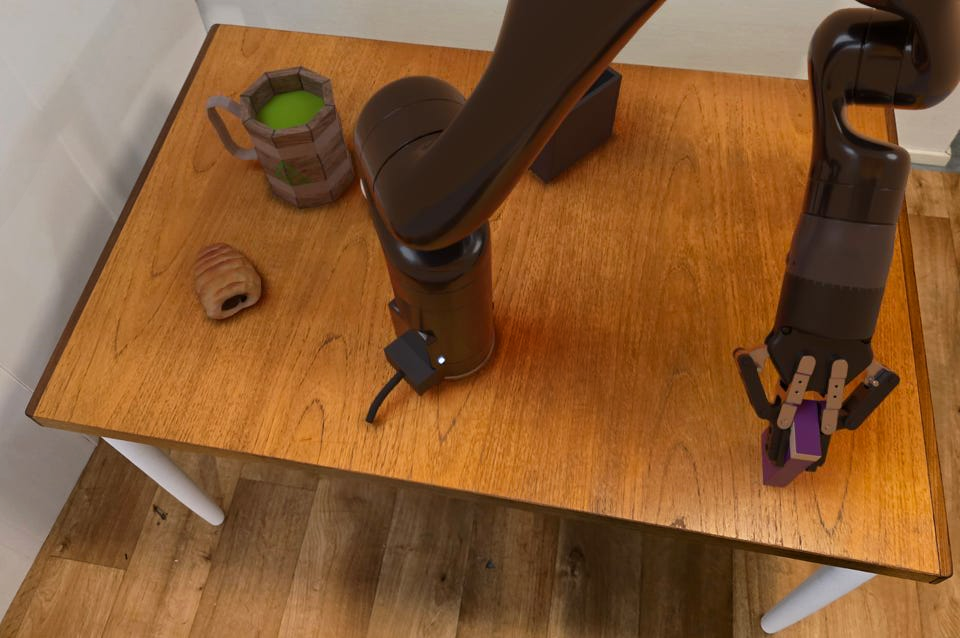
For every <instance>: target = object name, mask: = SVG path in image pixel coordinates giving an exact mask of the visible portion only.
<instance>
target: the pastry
mask: <svg viewBox="0 0 960 638" xmlns="http://www.w3.org/2000/svg"><path fill="white" fill-rule="evenodd" d="M192 268H193V277H194V282H193V286H194V291H195V292H196V293H197V295H198V296H197V297H198V300H199V302H200V304H201V305H202V307H203V308H204V309H205V312H206V316H207V317H209V319H212V320H224V319H226V318H228V317H231V316H234V315H235V314H236V313H238V312H239V311H241V310H242V309H244V308H248V307H250V306H252V305H254V304H256V303H257V302H258V301H259V299H260V297H261V295H262V279H261V277H260V275H259V274H258V272H257V271H256V269H255V268H254V266H253V264H252V262H251V261H249V259H247V258H246V256H244V255H243V254H242V253H241V252H240V251H238V250H236V249H234V248H233V247H232V245H230V244H228V243H226V242H222V241H221V242H214V243H211V244H208V245H201V246H200V248H199V250H198V251H197V253H196V254H195V258H194V261H193V265H192Z"/></svg>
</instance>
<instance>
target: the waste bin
mask: <svg viewBox="0 0 960 638" xmlns="http://www.w3.org/2000/svg"><path fill="white" fill-rule="evenodd" d="M622 79H623V74H621V73H619V72H618V71H617V70H615V68H613V67H611V66H610V65H609V66H608V67H607V68H606V69H605V70H604V71H603V73H602V74H601V75H600V76H599V77H598V79H597V80H596V81H595V82H594V83H593V85H592V86H591V87H590V88H589V89H588V91H587V92H586V93H585V94H584V95H583V97H582V98H581V99H580V100H579V101H578V103H577V104H576V105H575V106H574V108H573V109H572V110H571V111H570V113H569V114H568V115H567V116H566V118H565V119H564V120H563V122H562V123H561V124H560V126H559V127H558V128H557V130H556V131H555V132H554V134H553V135H552V137H551V138H550V139H549V141H548V142H547V143H546V145H545V146H544V148H543V149H542V150H541V152H540V153H539V154H538V156H537V157H536V159H535V160H534V161H533V163H532V164H531V166H530V167H529V168H528V170H529V171H531V172H532V173H533V174H535V175H536V176H537V177H538V178H539V179H540V180H542V181H543V182H544V183H545V184H549V183H550V182H552V181H553V180H555V179H556V178H557V177H559V176H560V175H561V174H563V173H564V172H565V171H567V170H568V169H569V168H571V167H572V166H573V165H575V164H576V163H577V162H579V161H580V160H582V159H583V158H584V157H586V156H587V155H588V154H590V153H591V152H593V151H594V150H595V149H596V148H598V147H599V146H601V145H602V144H603V143H604V142H606V141H607V140H609V139H610V138H611V137H612V136H613V130H614V125H615V119H616V113H617V110H618V109H617V108H618V103H619V99H620V98H619V97H620V92H621V85H622Z"/></svg>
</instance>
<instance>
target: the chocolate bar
mask: <svg viewBox="0 0 960 638" xmlns="http://www.w3.org/2000/svg"><path fill="white" fill-rule="evenodd" d="M768 427H769V425H768V426H767V427H766V428H765V429H764V431H763V432H762V433H761V434H760V446H761V450H760V451H761V471H762V472H761V473H762V485H763V486H767V487H768V486H769V487H776V488H781V489H784V488H787V486H789V484H791V483H792V482H794V481H795V480H796V478H798V477H799V476H800V475H801V474H802V473H803V472H804V471H805V469H807V468H808V467H809V466H810V465H811V464H812V463H813V462H815V461H817V460H818V459H819V458H820V457H821V447H820V435H819V422H818V410H817V401H816V400H814V399H807V398H803V399H802V402H801V404H800V405H799V406H798V407H797V409H796V412H795V415H794V418H793V421H792V424H791V426H790V427H789V428H790V430H791V434H790V442H789V446H788V451H787V455H786V460H785V464H784V467H783V468H777V467H774V466H773V465H772V463H771V461H770V460H769V459H768V457H767V455H766V453H765V450H764V445H765V441H766V436H767V431H768Z"/></svg>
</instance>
